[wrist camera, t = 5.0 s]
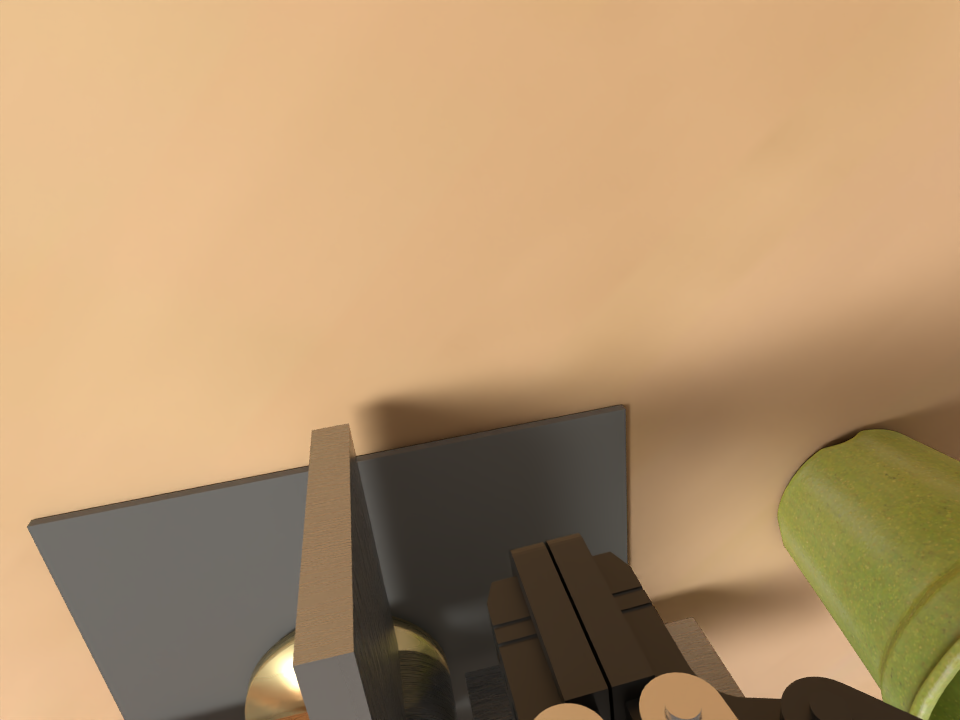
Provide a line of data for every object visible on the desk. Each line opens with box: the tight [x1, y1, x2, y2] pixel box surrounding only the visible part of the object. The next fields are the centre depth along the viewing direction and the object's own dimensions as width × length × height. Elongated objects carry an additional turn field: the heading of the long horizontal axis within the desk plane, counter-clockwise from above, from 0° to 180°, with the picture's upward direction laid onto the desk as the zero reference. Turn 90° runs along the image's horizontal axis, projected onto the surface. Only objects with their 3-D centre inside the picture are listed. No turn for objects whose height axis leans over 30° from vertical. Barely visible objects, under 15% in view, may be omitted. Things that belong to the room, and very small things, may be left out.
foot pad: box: [27, 405, 627, 720], centre depth 23 cm, size 18×19×1 cm
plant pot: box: [778, 429, 960, 720], centre depth 21 cm, size 9×9×9 cm
